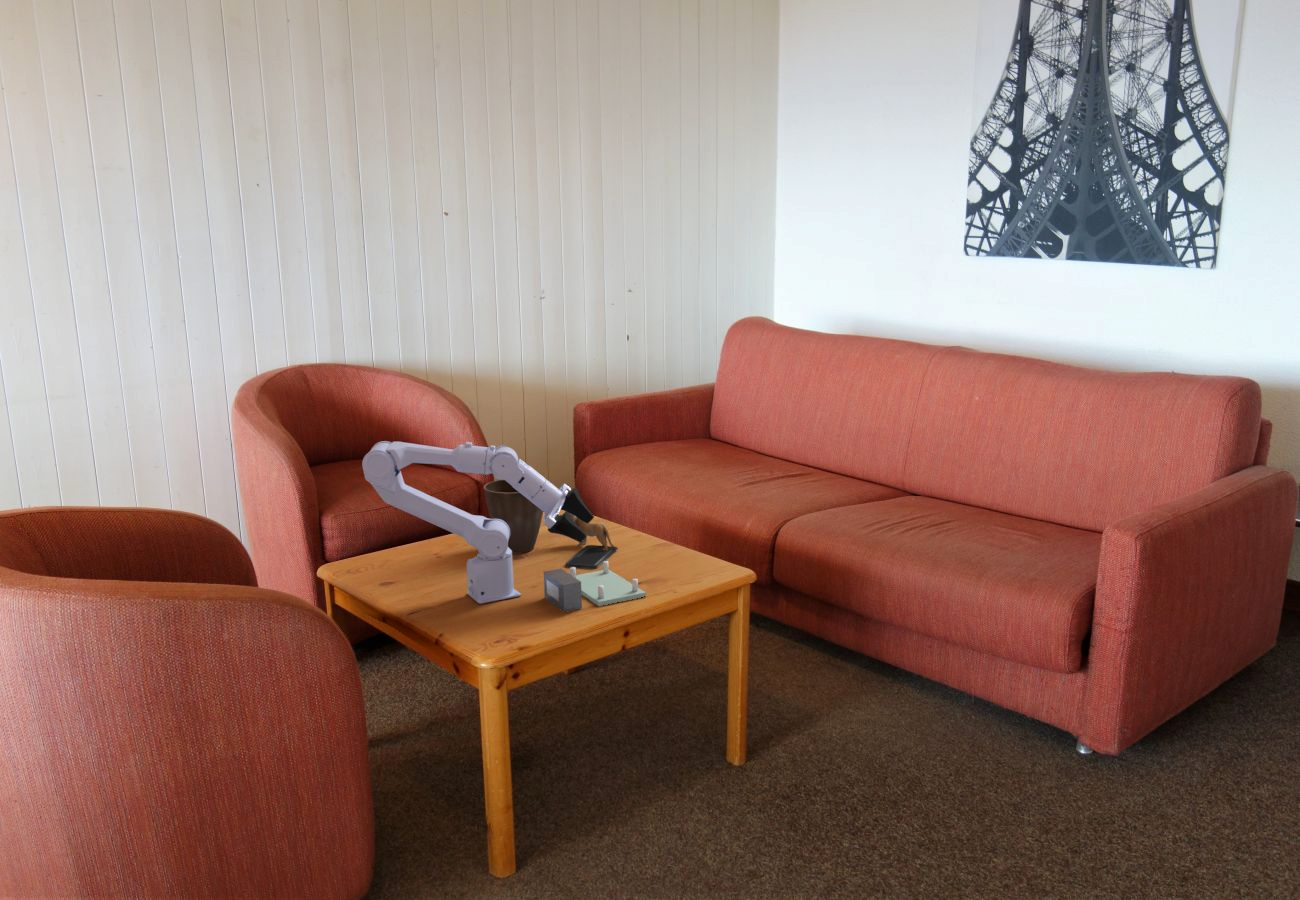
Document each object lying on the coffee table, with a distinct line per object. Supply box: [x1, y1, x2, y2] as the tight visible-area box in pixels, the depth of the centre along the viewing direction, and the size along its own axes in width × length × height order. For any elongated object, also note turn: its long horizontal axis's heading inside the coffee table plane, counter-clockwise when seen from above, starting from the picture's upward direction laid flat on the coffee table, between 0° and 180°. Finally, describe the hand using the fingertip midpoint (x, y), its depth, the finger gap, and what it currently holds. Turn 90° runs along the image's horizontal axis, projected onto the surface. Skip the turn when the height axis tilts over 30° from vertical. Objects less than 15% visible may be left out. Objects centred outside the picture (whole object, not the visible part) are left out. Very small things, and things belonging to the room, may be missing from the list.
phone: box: [565, 544, 617, 570], centre depth 260 cm, size 8×1×15 cm
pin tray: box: [569, 560, 647, 607], centre depth 239 cm, size 11×18×4 cm, turn 28°
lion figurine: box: [568, 512, 619, 551], centre depth 267 cm, size 15×5×9 cm, turn 63°
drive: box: [543, 568, 583, 613], centre depth 231 cm, size 4×10×6 cm, turn 29°
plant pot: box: [483, 479, 544, 554], centre depth 267 cm, size 15×15×16 cm
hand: (587, 529), depth 235 cm, fingers open, 7 cm apart
